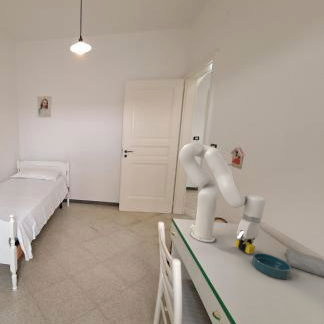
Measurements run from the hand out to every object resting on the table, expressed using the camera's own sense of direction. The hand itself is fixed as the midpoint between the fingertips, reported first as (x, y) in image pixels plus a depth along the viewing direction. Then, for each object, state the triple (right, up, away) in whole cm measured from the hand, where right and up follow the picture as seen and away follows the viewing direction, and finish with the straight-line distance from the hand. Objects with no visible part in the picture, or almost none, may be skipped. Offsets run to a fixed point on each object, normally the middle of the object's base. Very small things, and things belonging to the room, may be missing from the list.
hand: (244, 248), depth 112 cm
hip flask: (+17, -1, -7) cm, 18 cm away
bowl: (0, -4, -15) cm, 15 cm away
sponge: (0, -1, 0) cm, 0 cm away
